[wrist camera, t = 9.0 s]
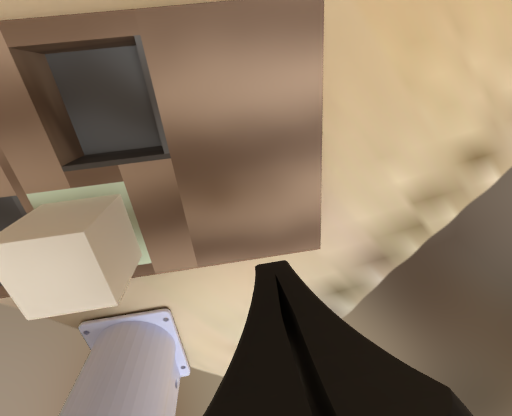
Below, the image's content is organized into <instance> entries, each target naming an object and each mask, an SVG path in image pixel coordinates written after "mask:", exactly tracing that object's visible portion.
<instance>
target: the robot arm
mask: <svg viewBox="0 0 512 416" xmlns="http://www.w3.org/2000/svg"><path fill="white" fill-rule="evenodd" d="M255 271H256V276H255V286H254V292H253V297H252V302H251V306H250V309H249V313H248V317H247V320H246V324H245V327H244V330H243V333H242V335H241V338H240V341H239V344H238V346H237V349H236V351H235V353H234V356H233V358H232V361H231V363H230V365H229V367H228V369H227V372H226V374H225V376H224V378H223V380H222V382H221V384H220V386H219V388H218V390H217V392H216V393H215V395H214V397H213V399H212V401H211V403H210V405H209V406H208V408H207V410H206V412H205V413H204V415H203V416H473V415H472V414H471V412H470V411H469V410H468V409H467V407H466V406H465V405H464V404H463V403H462V402H461V401H460V399H459V398H458V397H457V396H456V395H455V394H454V393H453V392H452V391H451V389H450V388H449V387H447V386H445V385H443V384H442V383H440V382H438V381H436V380H434V379H432V378H430V377H429V376H427V375H425V374H423V373H421V372H419V371H417V370H416V369H414V368H412V367H410V366H408V365H407V364H405V363H404V362H402V361H400V360H399V359H397V358H395V357H394V356H392V355H391V354H389V353H388V352H386V351H385V350H383V349H382V348H380V347H379V346H377V345H376V344H374V343H373V342H371V341H370V340H368V339H367V338H366V337H364V336H363V335H361V334H360V333H359V332H357V331H356V330H355V329H353V328H352V327H351V326H349V325H348V324H347V323H346V322H344V321H343V320H342V319H341V318H340V317H339V316H337V315H336V314H335V313H334V312H333V311H332V310H331V309H330V308H328V307H327V306H326V305H325V304H324V303H323V302H322V301H321V300H320V299H319V298H318V297H317V296H316V295H315V294H314V293H313V292H312V291H311V290H310V289H309V288H308V286H307V285H306V284H305V283H304V282H303V281H302V280H301V279H300V277H299V276H298V275H297V274H296V273H295V271H294V270H293V269H292V267H291V266H290V265H289V263H288V262H287V261H286V260H284V261H277V262H271V263H265V264H259V265H257V266H256V267H255ZM78 329H79V331H80V333H81V334H82V336H83V337H84V339H85V341H86V343H87V345H88V346H89V348H90V350H91V351H90V353H89V355H88V357H87V360H86V361H85V363H84V365H83V367H82V369H81V371H80V373H79V375H78V377H77V379H76V382H75V383H74V385H73V388H72V389H71V391H70V393H69V395H68V398H67V399H66V401H65V403H64V405H63V407H62V409H61V412H60V413H59V415H58V416H175V412H176V405H177V398H178V391H179V384H180V377H183V376H188V375H189V374H190V367H189V364H188V361H187V358H186V355H185V352H184V349H183V346H182V343H181V340H180V337H179V334H178V332H177V329H176V326H175V323H174V320H173V317H172V314H171V311H170V310H169V309H159V310H153V311H146V312H140V313H134V314H128V315H122V316H116V317H110V318H103V319H97V320H91V321H85V322H82V323H80V325H79V327H78Z"/></svg>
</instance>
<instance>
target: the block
mask: <svg viewBox="0 0 512 416" xmlns="http://www.w3.org/2000/svg"><path fill="white" fill-rule="evenodd" d="M141 256H142V252H141V250H140V247H139V244H138V241H137V239H136V236H135V233H134V230H133V228H132V225H131V222H130V219H129V217H128V214H127V211H126V208H125V205H124V203H123V200H122V197H121V194H114V195H107V196H99V197H92V198H85V199H77V200H70V201H62V202H55V203H47V204H42V205H40V206H39V207H37V208H36V209H34V210H32V211H31V212H29V213H28V214H26V215H25V216H23V217H22V218H20V219H19V220H17V221H16V222H14V223H13V224H11V225H9V226H8V227H6V228H5V229H3V230H2V231H0V282H1V284H2V285H3V287H4V288H5V289H6V291H7V292H8V294H9V295H10V297H11V298H12V299H13V301H14V302H15V304H16V305H17V307H18V308H19V309H20V311H21V312H22V314H23V315H24V316H25V318H26V319H27V320H33V319H40V318H47V317H53V316H59V315H65V314H71V313H77V312H84V311H90V310H96V309H102V308H108V307H115V306H118V305H119V303H120V301H121V299H122V296H123V294H124V292H125V290H126V288H127V286H128V284H129V282H130V280H131V278H132V275H133V273H134V271H135V269H136V267H137V265H138V263H139V261H140V259H141Z"/></svg>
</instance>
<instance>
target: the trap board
mask: <svg viewBox="0 0 512 416" xmlns="http://www.w3.org/2000/svg"><path fill="white" fill-rule="evenodd" d="M323 40H324V0H231V1H220V2H209V3H197V4H186V5H174V6H163V7H152V8H140V9H129V10H117V11H106V12H94V13H83V14H72V15H60V16H49V17H37V18H26V19H15V20H3V21H0V231H2V230H3V229H5V228H6V227H8V226H9V225H11V224H13V223H14V222H16V221H17V220H19V219H20V218H22V217H23V216H25V215H26V214H28V213H29V212H31V211H32V210H34V209H36V208H37V207H39V206H40V205H42V204H47V203H55V202H62V201H70V200H77V199H85V198H92V197H99V196H107V195H114V194H121V197H122V200H123V203H124V205H125V208H126V211H127V214H128V217H129V219H130V222H131V225H132V228H133V230H134V233H135V236H136V239H137V241H138V244H139V247H140V250H141V252H142V256H141V259H140V261H139V263H138V265H137V267H136V269H135V271H134V273H133V275H132V278H135V277H141V276H148V275H154V274H161V273H167V272H174V271H180V270H187V269H193V268H200V267H206V266H213V265H219V264H226V263H232V262H239V261H245V260H252V259H258V258H265V257H271V256H278V255H284V254H291V253H297V252H304V251H310V250H317V249H320V237H321V172H322V106H323ZM5 297H10V295H9V294H8V292H7V291H6V289H5V288H4V287H3V285H2V284H1V282H0V298H5Z"/></svg>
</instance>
